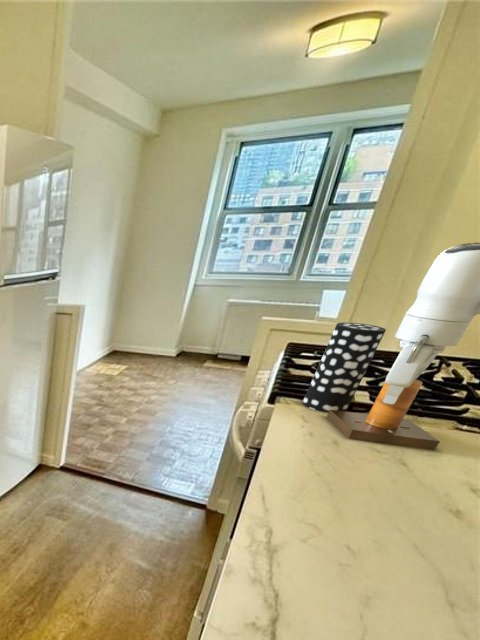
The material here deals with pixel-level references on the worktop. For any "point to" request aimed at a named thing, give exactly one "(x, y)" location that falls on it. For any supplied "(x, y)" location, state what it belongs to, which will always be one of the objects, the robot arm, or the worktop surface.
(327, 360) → the spotted tube
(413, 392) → the orange ribbed cylinder
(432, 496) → the worktop surface
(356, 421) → the brown flat wooden slab
